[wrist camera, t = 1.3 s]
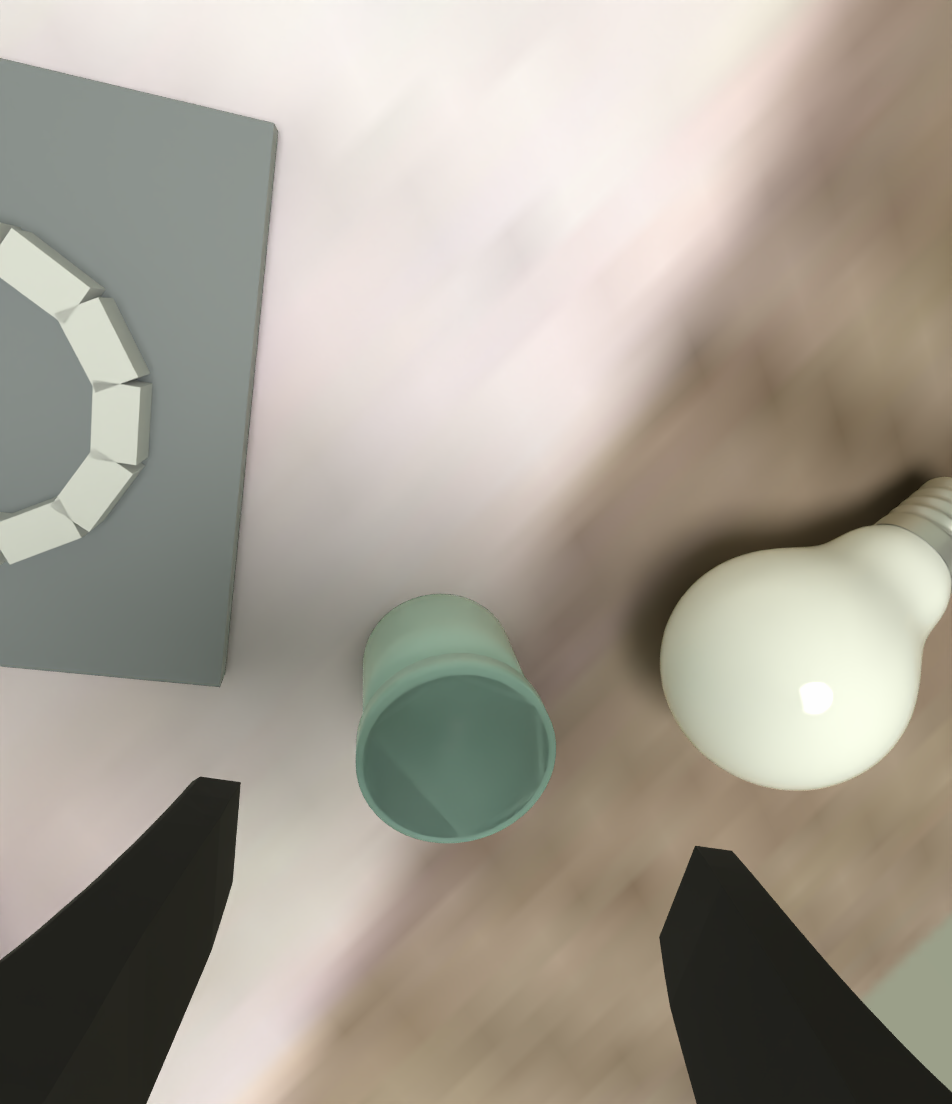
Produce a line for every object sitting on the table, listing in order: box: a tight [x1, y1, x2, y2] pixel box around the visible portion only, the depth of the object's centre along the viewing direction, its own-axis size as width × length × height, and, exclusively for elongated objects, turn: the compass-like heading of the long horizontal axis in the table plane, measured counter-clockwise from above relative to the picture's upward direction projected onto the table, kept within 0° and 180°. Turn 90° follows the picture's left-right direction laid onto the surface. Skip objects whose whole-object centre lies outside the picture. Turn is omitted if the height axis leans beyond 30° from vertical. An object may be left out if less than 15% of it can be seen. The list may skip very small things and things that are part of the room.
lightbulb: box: [660, 477, 952, 791], centre depth 20 cm, size 6×6×11 cm
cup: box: [356, 594, 556, 843], centre depth 20 cm, size 5×5×5 cm
